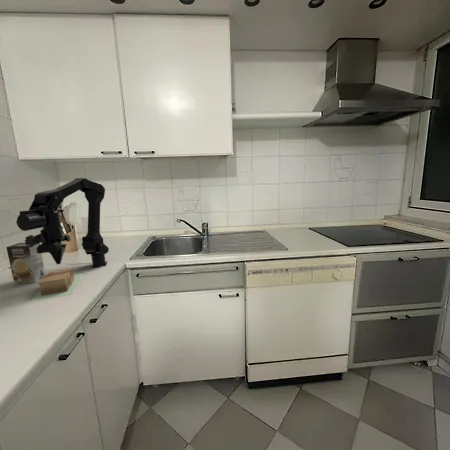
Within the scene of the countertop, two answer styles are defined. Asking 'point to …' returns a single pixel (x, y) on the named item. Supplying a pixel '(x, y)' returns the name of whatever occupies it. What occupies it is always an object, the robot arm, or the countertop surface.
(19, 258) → the coffee box
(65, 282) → the walnut block
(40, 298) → the mat
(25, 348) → the countertop surface
